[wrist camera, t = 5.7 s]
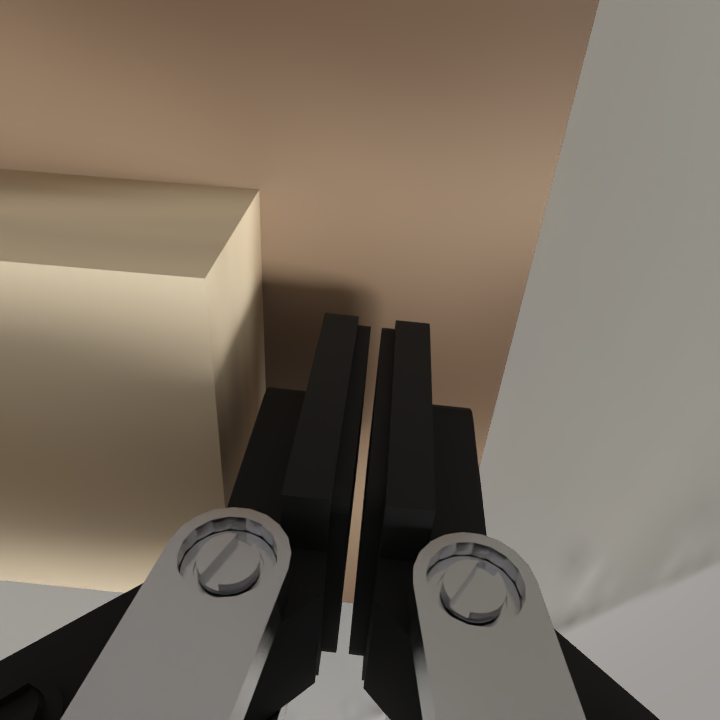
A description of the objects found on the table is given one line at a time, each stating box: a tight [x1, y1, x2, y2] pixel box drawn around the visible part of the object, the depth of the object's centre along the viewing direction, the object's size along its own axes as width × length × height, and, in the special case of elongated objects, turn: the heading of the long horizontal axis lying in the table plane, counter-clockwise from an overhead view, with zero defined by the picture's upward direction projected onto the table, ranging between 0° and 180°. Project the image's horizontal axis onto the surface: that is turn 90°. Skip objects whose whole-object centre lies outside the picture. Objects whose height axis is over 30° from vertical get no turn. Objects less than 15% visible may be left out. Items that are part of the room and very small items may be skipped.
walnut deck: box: [0, 0, 599, 603], centre depth 12 cm, size 14×16×2 cm
